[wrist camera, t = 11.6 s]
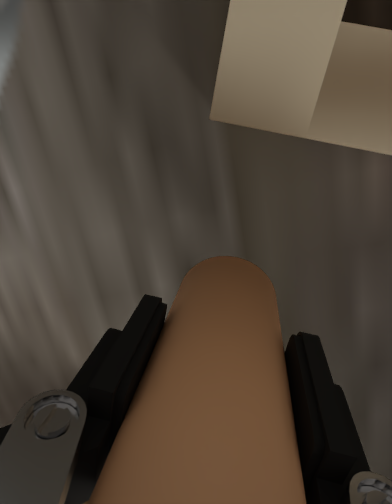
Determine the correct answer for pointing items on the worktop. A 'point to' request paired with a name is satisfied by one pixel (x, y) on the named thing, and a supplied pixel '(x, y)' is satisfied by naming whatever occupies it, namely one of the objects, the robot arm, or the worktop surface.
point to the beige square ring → (305, 73)
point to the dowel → (211, 401)
